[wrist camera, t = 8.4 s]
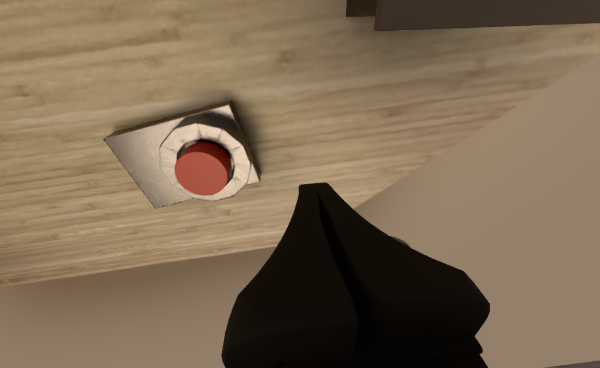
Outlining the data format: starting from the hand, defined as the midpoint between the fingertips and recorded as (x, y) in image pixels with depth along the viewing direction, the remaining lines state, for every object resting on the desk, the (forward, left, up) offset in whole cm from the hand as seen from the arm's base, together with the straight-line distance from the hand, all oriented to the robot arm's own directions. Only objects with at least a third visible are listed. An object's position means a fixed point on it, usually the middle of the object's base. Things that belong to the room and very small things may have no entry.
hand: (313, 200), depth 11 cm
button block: (0, +9, -10) cm, 14 cm away
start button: (0, +7, -8) cm, 11 cm away
